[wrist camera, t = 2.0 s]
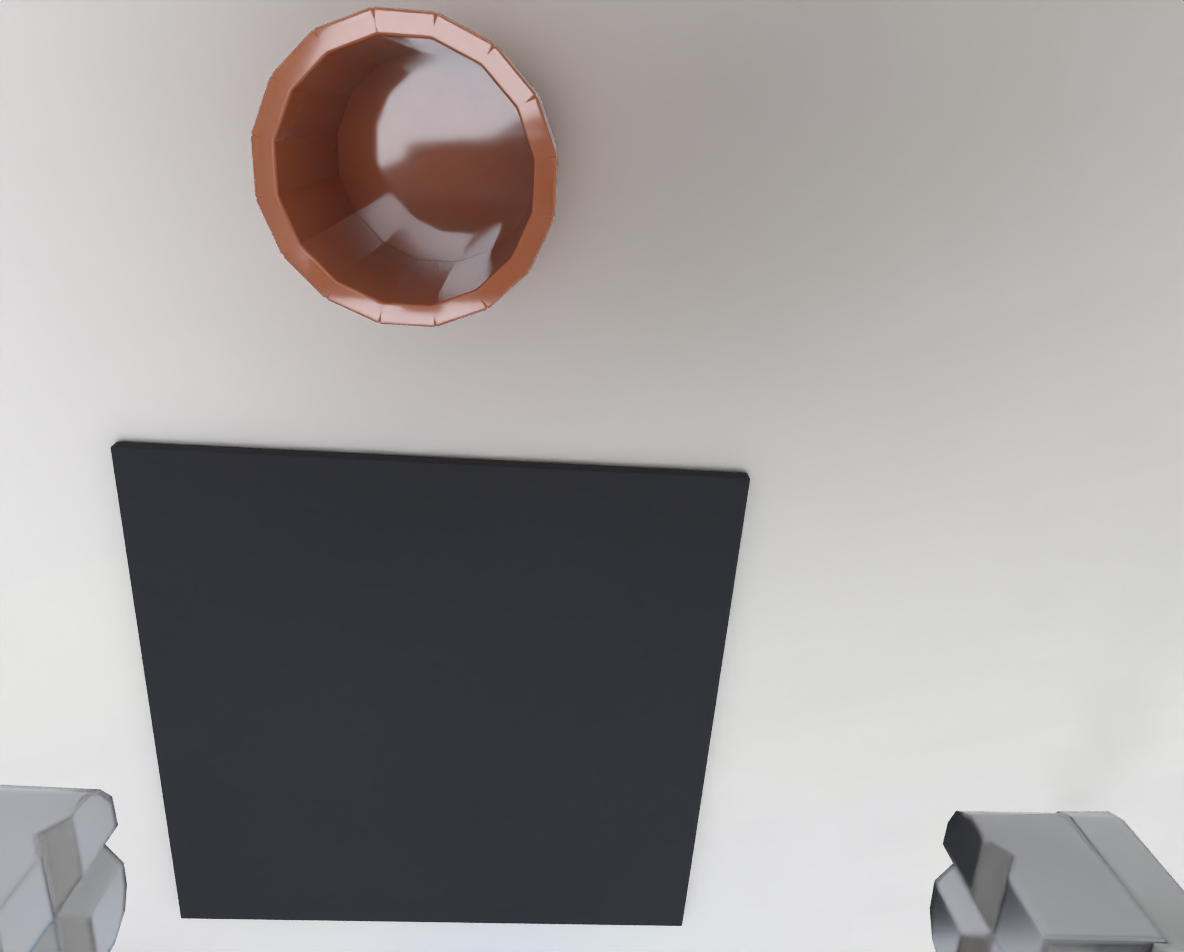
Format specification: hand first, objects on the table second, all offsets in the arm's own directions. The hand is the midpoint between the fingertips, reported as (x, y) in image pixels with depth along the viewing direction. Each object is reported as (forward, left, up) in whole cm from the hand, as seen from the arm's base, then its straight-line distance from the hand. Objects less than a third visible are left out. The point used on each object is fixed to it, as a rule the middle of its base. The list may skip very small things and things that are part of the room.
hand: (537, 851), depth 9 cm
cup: (-5, -3, -20) cm, 21 cm away
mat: (+14, -3, -20) cm, 25 cm away
